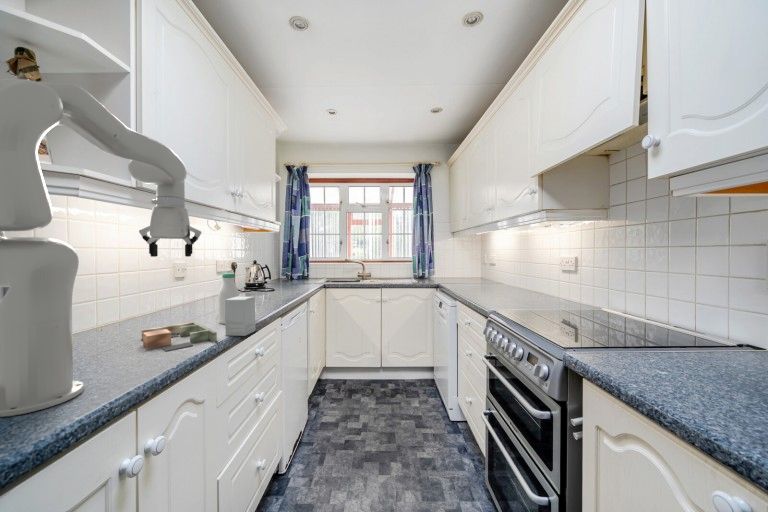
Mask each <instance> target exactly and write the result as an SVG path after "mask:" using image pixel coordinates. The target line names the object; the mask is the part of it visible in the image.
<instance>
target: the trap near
mask: <svg viewBox="0 0 768 512" xmlns="http://www.w3.org/2000/svg"><path fill="white" fill-rule="evenodd" d="M191 347H194V345H193V344H192V343H190V341H188V342H182V343H178V344H173V345H172V344H171V345H166V346H161V349H162V350H163V351H164V352H166V353H167V352H171V351H176V350H177V351H178V350H181V349H185V348H191Z"/></svg>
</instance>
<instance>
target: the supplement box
mask: <svg viewBox="0 0 768 512" xmlns="http://www.w3.org/2000/svg"><path fill="white" fill-rule="evenodd" d="M224 325H225V336H227V337H228V336H235V337H237V336H239V337H241V336H243V337H246V336H248V335H250V334H252V333H254V332H256V297H255V296H239V297H233V298H230V299H226V300H225V324H224Z"/></svg>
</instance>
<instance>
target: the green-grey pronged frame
mask: <svg viewBox="0 0 768 512" xmlns="http://www.w3.org/2000/svg"><path fill="white" fill-rule="evenodd" d="M163 329H167V330H169V331H170V332H171V334H174V333H175V334H177V335H178V334H179V336H180V337H187V336H189V343H191V344H192V343H197V342H203V341H210V342H212V343H216V342H217V341H218V337H217V336H218V335H217V333H218V332H217V331H215V330H213V329H211V328H209V327H208V326H207V327H206V326H204V325H203V324H200V323H198V322H191V321H190V322H187V323H177V324H173V325H167V326H166V325H165V326H159V327H151V328H147V329H146V328H145V329H141V340H142V339H143V333H144V332H150V331H157V330H163Z"/></svg>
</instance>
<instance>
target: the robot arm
mask: <svg viewBox="0 0 768 512" xmlns="http://www.w3.org/2000/svg"><path fill="white" fill-rule="evenodd" d="M56 126H63V127H67V128H69V129H71V130H72V131H73V132H75V133H76V134H78V135H79V136H80V137H82V138H83V139H85V140H86V141H87V142H89V143H90V144H92V145H93V146H94V147H95V148H97V149H98V150H100V151H101V152H102V153H105V154H106V155H111V156H114V157H118V158H122V159H125V160H129V163H128V165H127V169H128V170H127V171H128V173H129V174H130V176H131V177H132V178H133V179H134V180H135V181H137V182H139V183H143V184H149V185H155V187H156V189H155V190H156V191H155V193H156V197H155V199H151V204H152V205H155V206H153V207H152V211H151V215H150V223H149V225H148V226H147V227H144V228H142V229H139V231H138V233H139V234H140V236H141V238H142V239H143V240H144V241H145V242H146V244H148V253H149V255H150V257H151V258H154V257H159V254H158V252H159V251H158V249H159V248H158V244H157V242H158V241H160V239H165V240H166V239H169V240H173V239H174V240H175V239H176V240H177V239H179V240H180V239H181V240H183V241H184V242H185V244H184V256H185V257H191V256H192V255H193V245H194V244H195V243H196V242H197V241H198V240H199V238H200V237H201V235H202V231H201V230H199V229H197V228H195V227H192V226H191V225H190V224H191V222H190V218H189V217H190V216H189V213H188V209H187V208H185V207H186V206H185V205H186V203H185V202H186V201H185V200H186V199H185V197H186V195H185V194H186V192H185V191H186V190H185V180H186V179H187V176H188V173H187V167H186V165H185V163H184V162H183V161H182V160H181V158H180V157H179V156H178V154H176V153H175V152H174V151H173V150H172V149H171V148H169V147H168V146H167V145H165V144H163V143H161V142H159V141H158V140H156V139H153V138H151V137H149V136H147V135H145V134H142V132H141V133H140V132H138V131H135V130H133V129H131V128H129V127H128V126H127V125H125V124H124V123H123V122H122V121H121V120H120V119H119V118H117V117H116V116H115V115H114V114H113V113H112V112H110V110H108V109H107V107H106V106H104V105H103V104H102V103H101V102H99V101H98V100H97V99H96V98H95V97H94V96H93V95H92V94H91V93H90V92H88V91H87V90H86V89H85V88H83V87H80V86H79V85H77V84H73V83H68V82H61V81H60V82H55V81H34V80H29V79H24V78H22V79H21V78H6V77H5V78H4V77H3V78H2V77H0V288H8V289H7V291H6V292H5V294H4V295H3V297H2V298H1V300H0V418H4V417H13V416H18V415H24V414H28V413H33V412H37V411H40V410H44V409H47V408H50V407H54V406H57V405H61V404H63V403H65V402H68V401H69V400H71V399H73V398H75V397H77V396H78V395H79V396H80V394H82V392H83V391H84V389H85V388H84V387H85V384H84V382H82V381H80V380H79V381H78V380H74V363H73V362H74V360H73V359H74V356H73V353H74V349H73V348H74V347H73V346H74V345H73V341H74V339H73V291H74V285H75V282H76V278H77V277H76V276H77V273H78V269H79V265H80V264H79V256H78V253H77V252H76V250H75V249H74V248H73V247H72V246H71V245H69V244H68V243H66V242H64V241H62V240H59V239H55V238H51V237H40V236H39V237H38V236H36V237H35V236H32V237H31V236H26V237H25V236H24V237H23V236H19V237H18V236H15V237H14V236H13V237H7V236H6V233H5V232H29V231H36V230H41V229H43V228H46V227H47V226H48V225H50V224H51V222H52V220H53V217H54V216H53V205H52V203H51V198H50V195H49V192H48V188H47V186H46V182H45V179H44V175H43V172H42V169H41V164H40V160H39V155H38V154H39V153H38V151H39V147H40V145H41V141H42V140H43V138H44V136H46V134H47V133H48V132H49V131H50V130H52V129H53V128H54V127H56ZM148 232H149V235H150V236H149V235H148ZM191 232H192V233H194V235H193V236H192V237H191Z"/></svg>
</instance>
